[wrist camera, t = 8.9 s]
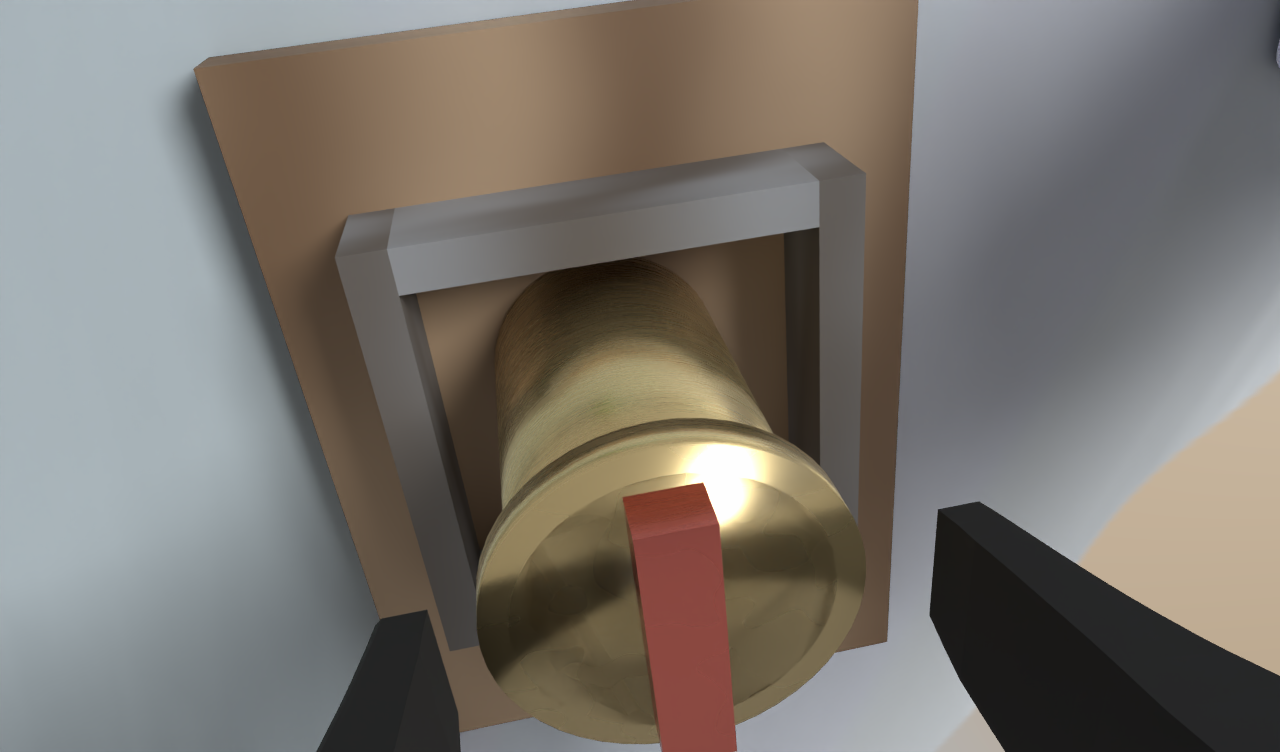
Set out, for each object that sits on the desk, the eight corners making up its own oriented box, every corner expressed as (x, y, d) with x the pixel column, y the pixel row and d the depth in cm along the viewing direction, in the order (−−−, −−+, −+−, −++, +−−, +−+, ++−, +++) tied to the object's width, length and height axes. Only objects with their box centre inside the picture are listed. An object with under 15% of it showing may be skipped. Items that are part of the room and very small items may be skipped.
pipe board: (895, -36, 16) (978, -18, 14) (872, 614, 24) (921, 703, 22) (208, 57, 15) (156, 95, 12) (422, 708, 23) (417, 813, 20)
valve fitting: (727, 213, 17) (898, 447, 10) (740, 441, 19) (883, 747, 13) (447, 258, 16) (434, 534, 10) (500, 486, 19) (518, 826, 12)
